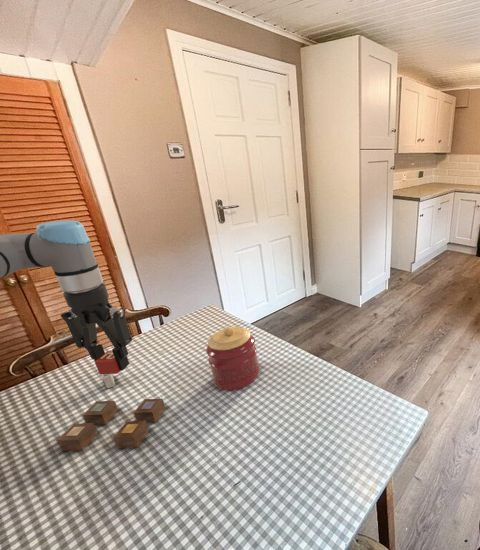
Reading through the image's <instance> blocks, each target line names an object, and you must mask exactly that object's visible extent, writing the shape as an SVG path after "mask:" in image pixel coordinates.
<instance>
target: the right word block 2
mask: <svg viewBox="0 0 480 550" xmlns="http://www.w3.org/2000/svg"><path fill="white" fill-rule="evenodd" d="M165 405H166V404H165V403H164V400H163V398H144V399H143V400H142V401H141V403H140V404H139V405H138V406H137V407H136V409H135V410H134V411H133V415H134V419H135V421H145V420H146V423H147V424H148V423H149V424H150V423H157V421H158V420H159V419H160V417H161V416H162V415H163V413H164V411H165V410H166V406H165Z"/></svg>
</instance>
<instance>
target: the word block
mask: <svg viewBox="0 0 480 550" xmlns="http://www.w3.org/2000/svg"><path fill="white" fill-rule="evenodd" d="M98 434H99V433H98V431H97V428H96V425H94V424H93V423H86V422H84V423H73V424H72V425H71V426H70V427H69V428H68V429H67V430H66V431H65V432H63V434H62V435H60V436H59V438H57V439H56V442H57V444H58V445H59V447H60V449H61V451H62V452H76V451H77V452H78V451H84V450H85V449H86V448H87V447H88V446H89V445H90V443H92V441H93V440H94V439H95V438H96V436H98Z"/></svg>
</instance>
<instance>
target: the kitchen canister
mask: <svg viewBox="0 0 480 550" xmlns="http://www.w3.org/2000/svg"><path fill="white" fill-rule="evenodd" d="M255 343H256V340H255V337H254V335H253V334H251V331H250V329H248V328H245V327H241V326H229V325H228V326H226V327H224V328H221V329H219V330H218V331H216V332H215V333H214V334H212V335H211V336H210V337H209V338H208V341H207V346H206V350H205V352H206V355H207V356H208V364H209V366H210V370H211V374H212V381H213V383H214V385H215V387H216V388H218V389H219V390H222V391H226V392H227V391H228V392H229V391H231V392H232V391H237V390H241V389H244V388H246V387H247V386H250V384H252V383H253V382H255V381H256V379H258V377H259V374H260V364H259V361H258V354H257V347H256V345H255Z"/></svg>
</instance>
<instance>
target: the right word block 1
mask: <svg viewBox="0 0 480 550" xmlns="http://www.w3.org/2000/svg"><path fill="white" fill-rule="evenodd" d="M149 432H150V428H149V425H148V423H146V420H145V421H136V420H128V421H125V422H124V424H123V425H122V426H121V427H120V428H119V429H118V431H117V432H116V433H115V434H114V436H113V437H112V438H113V441H114V443H115V446H116V448H117V449H133V448H134V449H135V448H139V447H140V445H141V444H142V443H143V441H144V440H145V438H146V437H147V436H148V434H149Z"/></svg>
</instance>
